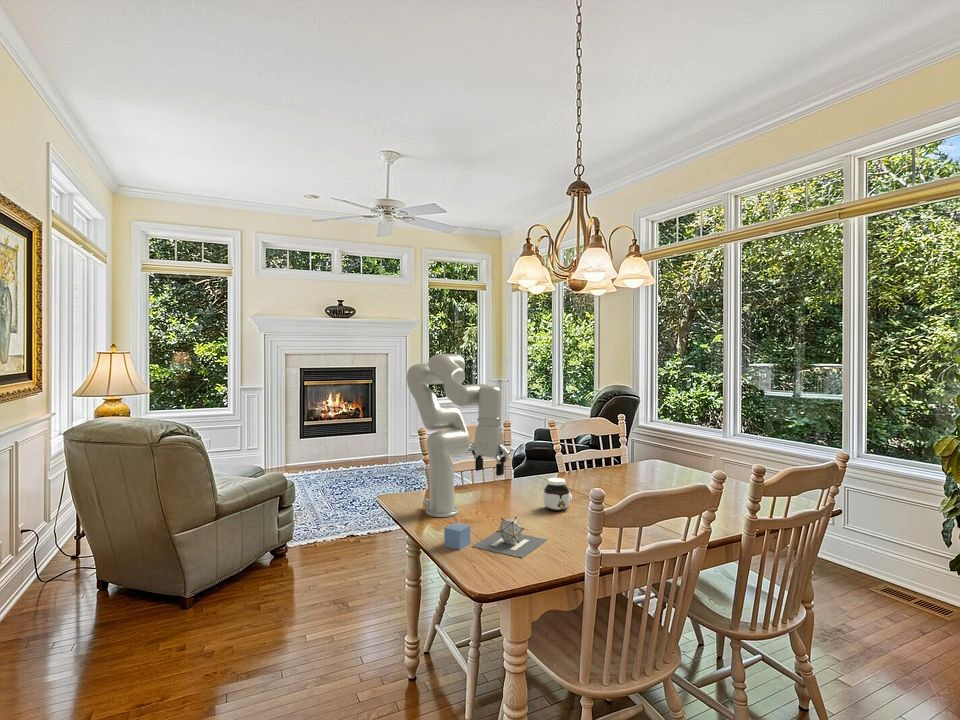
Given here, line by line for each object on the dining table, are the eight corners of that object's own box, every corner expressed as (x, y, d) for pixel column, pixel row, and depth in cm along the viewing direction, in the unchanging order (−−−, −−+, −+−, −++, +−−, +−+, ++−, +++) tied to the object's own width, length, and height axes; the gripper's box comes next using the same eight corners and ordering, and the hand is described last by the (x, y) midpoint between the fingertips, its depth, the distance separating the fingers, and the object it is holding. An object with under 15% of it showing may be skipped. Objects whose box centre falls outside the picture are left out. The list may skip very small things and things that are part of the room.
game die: (504, 554, 172) (486, 528, 173) (520, 538, 177) (502, 513, 179) (518, 548, 165) (499, 521, 167) (534, 532, 171) (516, 506, 172)
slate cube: (444, 546, 170) (444, 527, 170) (454, 540, 175) (454, 522, 175) (459, 550, 167) (459, 531, 167) (470, 544, 172) (470, 525, 172)
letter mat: (472, 546, 169) (472, 545, 169) (499, 530, 184) (499, 529, 184) (522, 558, 160) (522, 557, 160) (547, 539, 175) (547, 539, 175)
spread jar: (545, 512, 205) (545, 482, 205) (541, 503, 216) (541, 475, 216) (576, 512, 205) (576, 482, 205) (570, 503, 216) (570, 475, 216)
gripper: (463, 421, 183) (463, 470, 184) (501, 426, 171) (500, 479, 171) (479, 419, 188) (479, 466, 189) (516, 424, 176) (515, 475, 177)
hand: (489, 472), depth 180 cm, fingers open, 9 cm apart
